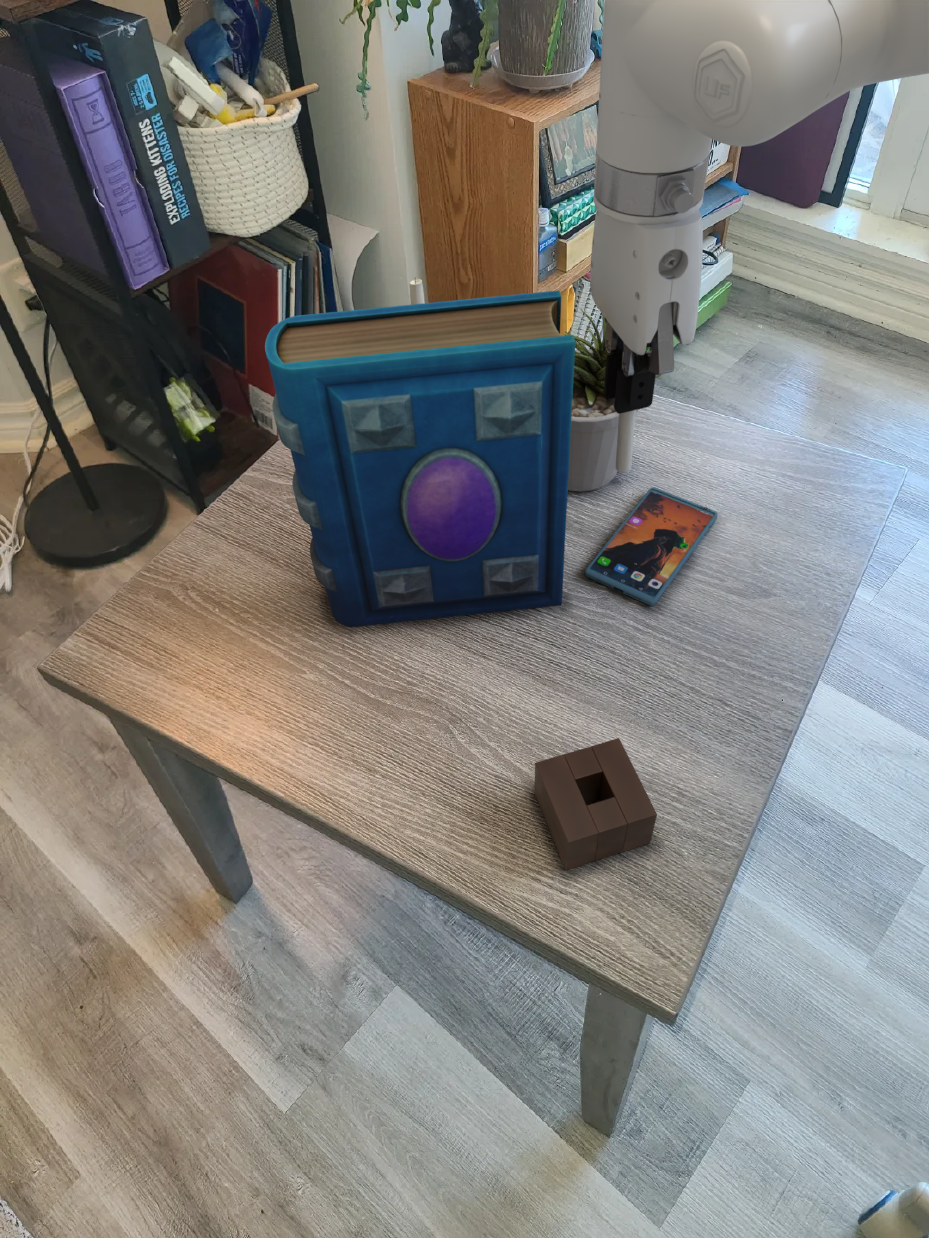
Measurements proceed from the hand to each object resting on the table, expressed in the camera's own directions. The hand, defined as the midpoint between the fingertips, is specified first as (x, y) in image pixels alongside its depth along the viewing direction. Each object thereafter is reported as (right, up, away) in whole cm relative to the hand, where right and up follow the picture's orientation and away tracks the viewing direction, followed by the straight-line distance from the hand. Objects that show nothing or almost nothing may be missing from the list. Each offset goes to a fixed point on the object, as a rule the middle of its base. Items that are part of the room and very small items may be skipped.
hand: (627, 400), depth 75 cm
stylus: (+1, -5, +6) cm, 8 cm away
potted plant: (0, -1, +28) cm, 28 cm away
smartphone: (+6, -11, +19) cm, 23 cm away
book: (-16, -16, +17) cm, 28 cm away
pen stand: (-3, -35, 0) cm, 35 cm away
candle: (-19, +11, +39) cm, 44 cm away
